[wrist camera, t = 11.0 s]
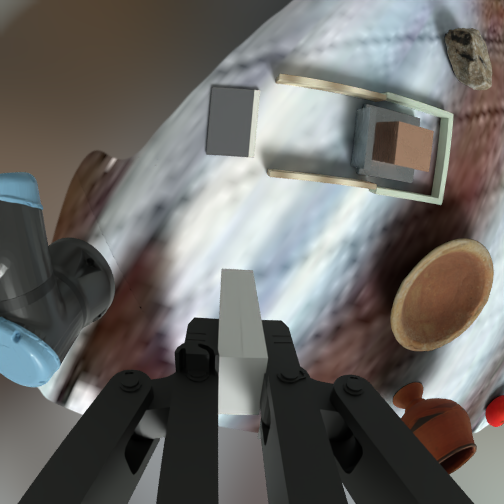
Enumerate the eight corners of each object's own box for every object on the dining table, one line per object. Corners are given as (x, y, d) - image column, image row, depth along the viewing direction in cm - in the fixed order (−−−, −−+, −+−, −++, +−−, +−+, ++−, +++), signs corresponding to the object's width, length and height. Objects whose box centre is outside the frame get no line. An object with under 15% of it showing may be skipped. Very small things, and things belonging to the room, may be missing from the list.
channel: (267, 174, 45) (270, 176, 42) (276, 78, 40) (279, 73, 37) (366, 185, 47) (375, 189, 43) (376, 97, 42) (386, 95, 38)
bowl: (354, 283, 53) (372, 305, 45) (448, 200, 48) (475, 210, 41) (404, 352, 60) (420, 375, 52) (481, 283, 56) (502, 299, 48)
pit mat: (206, 154, 44) (206, 154, 43) (212, 87, 40) (212, 86, 40) (253, 157, 44) (254, 157, 44) (259, 91, 41) (260, 90, 40)
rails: (369, 191, 47) (375, 194, 45) (380, 93, 42) (387, 92, 39) (434, 202, 48) (441, 205, 46) (445, 114, 43) (453, 114, 41)
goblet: (362, 396, 64) (400, 481, 40) (432, 352, 61) (487, 425, 38) (383, 428, 70) (415, 498, 47) (442, 391, 67) (485, 454, 44)
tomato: (480, 418, 78) (493, 436, 68) (481, 403, 74) (496, 423, 64) (503, 400, 77) (516, 417, 67) (505, 384, 73) (520, 402, 63)
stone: (460, 94, 41) (483, 91, 34) (434, 33, 37) (455, 23, 31) (484, 87, 40) (506, 85, 33) (460, 30, 36) (481, 21, 30)
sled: (350, 172, 46) (372, 179, 38) (357, 103, 42) (381, 98, 34) (408, 182, 47) (436, 191, 39) (416, 118, 43) (445, 118, 35)
